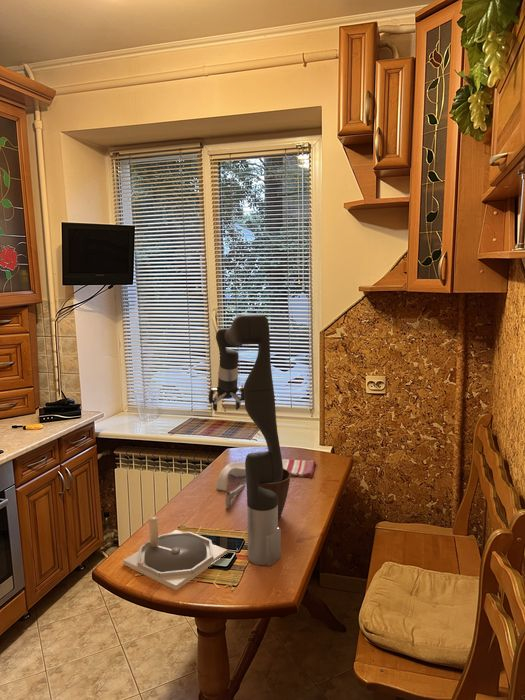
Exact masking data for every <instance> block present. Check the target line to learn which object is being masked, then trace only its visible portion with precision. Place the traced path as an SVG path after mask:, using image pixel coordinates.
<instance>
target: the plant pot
mask: <svg viewBox="0 0 525 700" xmlns="http://www.w3.org/2000/svg"><path fill="white" fill-rule="evenodd" d="M290 480H291V476H290V472H289V471H287V470H286V469H283V477H282V480H281V481H279V482H275V483H266V484H259V487H261V488H264V489H268V490H271V491H273V492H275V493H276V495H277V497H278V521H279V519H280V518H281V516H282V514H283V510H284V508H285V505H286V502H287V498H288V493H289V488H290Z"/></svg>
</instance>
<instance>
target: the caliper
mask: <svg viewBox="0 0 525 700" xmlns="http://www.w3.org/2000/svg"><path fill="white" fill-rule="evenodd" d="M244 488H245V485H244V484H240V485H239V486H237V488H235V489H234V490H227V491H226V495H225V508H226V509H229V508H231V504H232V500H234V499H235V496H236V495H238V494H239V493H240V492H241V491H242V490H244Z"/></svg>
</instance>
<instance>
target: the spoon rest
mask: <svg viewBox="0 0 525 700" xmlns="http://www.w3.org/2000/svg"><path fill="white" fill-rule="evenodd" d="M229 474H230V475H232V477H234V476H235V478H244V477H246V471H245V461H242V462H241V461H236V462H231V463H228V464H227V465H225V467H223V469H222V470H221V472H220V474H219V476H218V477H217V478H218V479H217V481H216V486H215V488H216V490H218V491H219V490H220V491H225V492H228V483H227V481H228V477H229Z"/></svg>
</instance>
